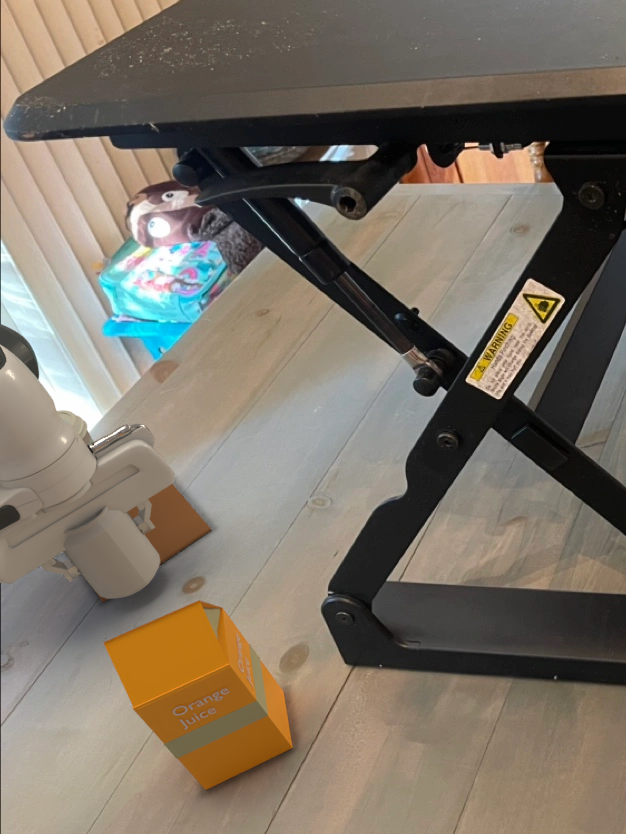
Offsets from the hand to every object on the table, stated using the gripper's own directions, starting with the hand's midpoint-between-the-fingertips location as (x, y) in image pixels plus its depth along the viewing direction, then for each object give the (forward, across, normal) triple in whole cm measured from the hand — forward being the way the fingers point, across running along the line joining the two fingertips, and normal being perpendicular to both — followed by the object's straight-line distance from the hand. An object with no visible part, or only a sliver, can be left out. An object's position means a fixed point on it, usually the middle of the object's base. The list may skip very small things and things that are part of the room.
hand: (111, 552), depth 124 cm
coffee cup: (+7, -2, -23) cm, 24 cm away
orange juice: (+7, 0, +30) cm, 31 cm away
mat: (+7, -3, -9) cm, 12 cm away
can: (+5, 0, 0) cm, 5 cm away
